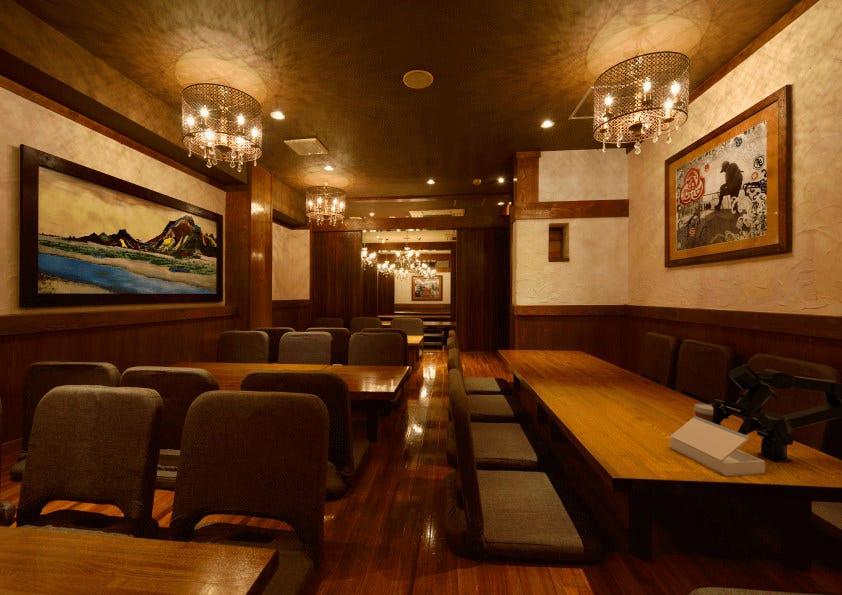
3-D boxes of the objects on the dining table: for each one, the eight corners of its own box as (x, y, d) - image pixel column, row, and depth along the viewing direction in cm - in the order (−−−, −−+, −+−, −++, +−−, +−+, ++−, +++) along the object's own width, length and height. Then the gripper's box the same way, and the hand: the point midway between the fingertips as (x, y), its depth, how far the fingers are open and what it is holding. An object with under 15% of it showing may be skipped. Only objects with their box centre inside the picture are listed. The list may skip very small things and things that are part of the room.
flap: (695, 417, 140) (694, 415, 140) (750, 438, 120) (749, 436, 120) (671, 437, 139) (670, 435, 139) (722, 461, 119) (721, 460, 119)
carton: (704, 446, 142) (704, 435, 142) (764, 473, 120) (765, 461, 120) (670, 447, 140) (670, 437, 140) (724, 476, 118) (724, 463, 118)
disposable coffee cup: (697, 439, 148) (698, 408, 148) (690, 431, 157) (690, 402, 157) (727, 443, 145) (728, 411, 145) (718, 434, 154) (718, 404, 154)
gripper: (797, 423, 123) (767, 459, 122) (742, 406, 142) (715, 437, 140) (776, 400, 122) (745, 436, 121) (723, 386, 141) (696, 417, 139)
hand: (724, 432), depth 130 cm, fingers open, 9 cm apart
